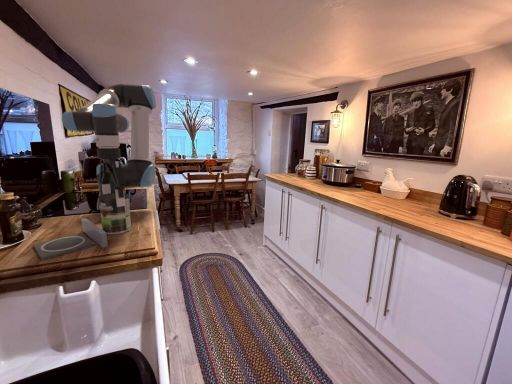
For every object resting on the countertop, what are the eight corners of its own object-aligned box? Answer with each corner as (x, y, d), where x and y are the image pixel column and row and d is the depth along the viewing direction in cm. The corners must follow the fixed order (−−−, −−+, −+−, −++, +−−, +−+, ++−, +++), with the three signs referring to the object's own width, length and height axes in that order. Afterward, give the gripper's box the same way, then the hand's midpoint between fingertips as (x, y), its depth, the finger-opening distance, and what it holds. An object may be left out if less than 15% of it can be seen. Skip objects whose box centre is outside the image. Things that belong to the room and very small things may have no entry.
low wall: (82, 230, 98) (81, 218, 97) (87, 229, 99) (85, 217, 98) (102, 247, 84) (101, 233, 82) (107, 246, 85) (106, 232, 84)
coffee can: (116, 236, 93) (112, 199, 90) (96, 232, 97) (91, 197, 94) (137, 227, 103) (134, 193, 100) (118, 223, 106) (115, 191, 103)
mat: (33, 246, 84) (33, 243, 84) (82, 234, 94) (81, 232, 94) (41, 259, 75) (41, 257, 75) (94, 245, 85) (94, 242, 85)
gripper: (86, 146, 98) (92, 199, 102) (109, 148, 82) (116, 211, 86) (107, 146, 103) (112, 196, 108) (133, 148, 87) (138, 206, 92)
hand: (114, 203), depth 97 cm, fingers open, 13 cm apart
